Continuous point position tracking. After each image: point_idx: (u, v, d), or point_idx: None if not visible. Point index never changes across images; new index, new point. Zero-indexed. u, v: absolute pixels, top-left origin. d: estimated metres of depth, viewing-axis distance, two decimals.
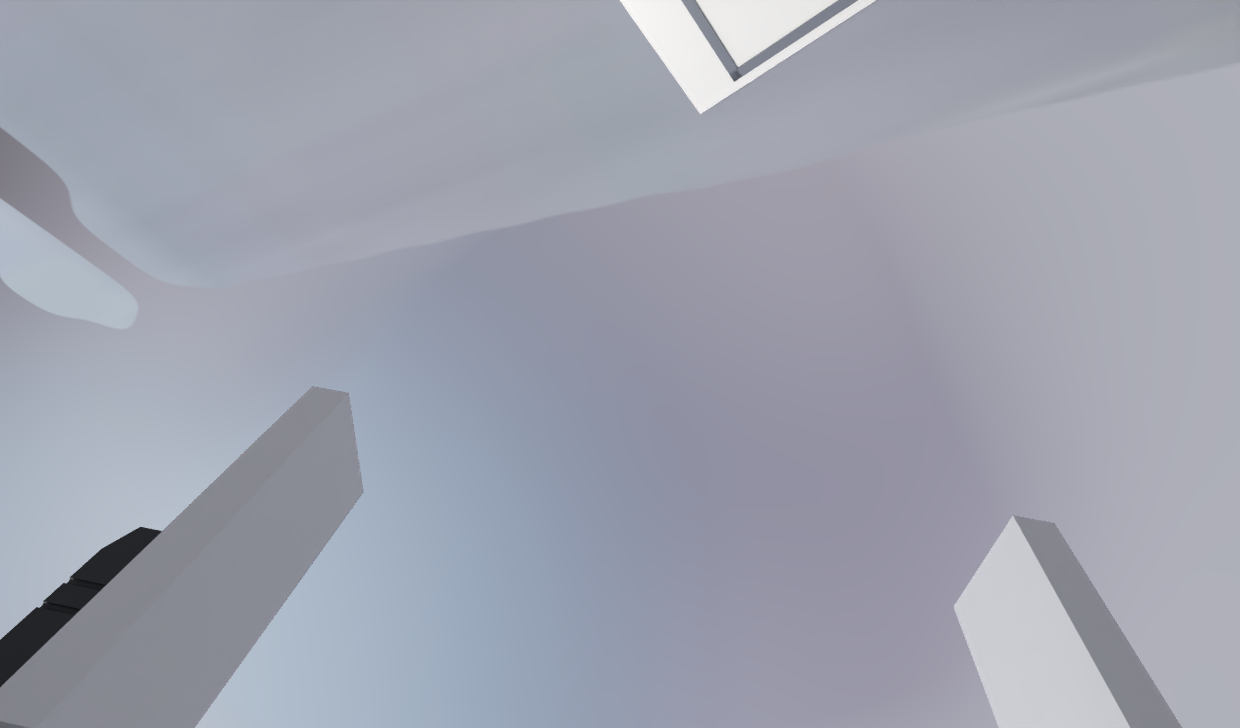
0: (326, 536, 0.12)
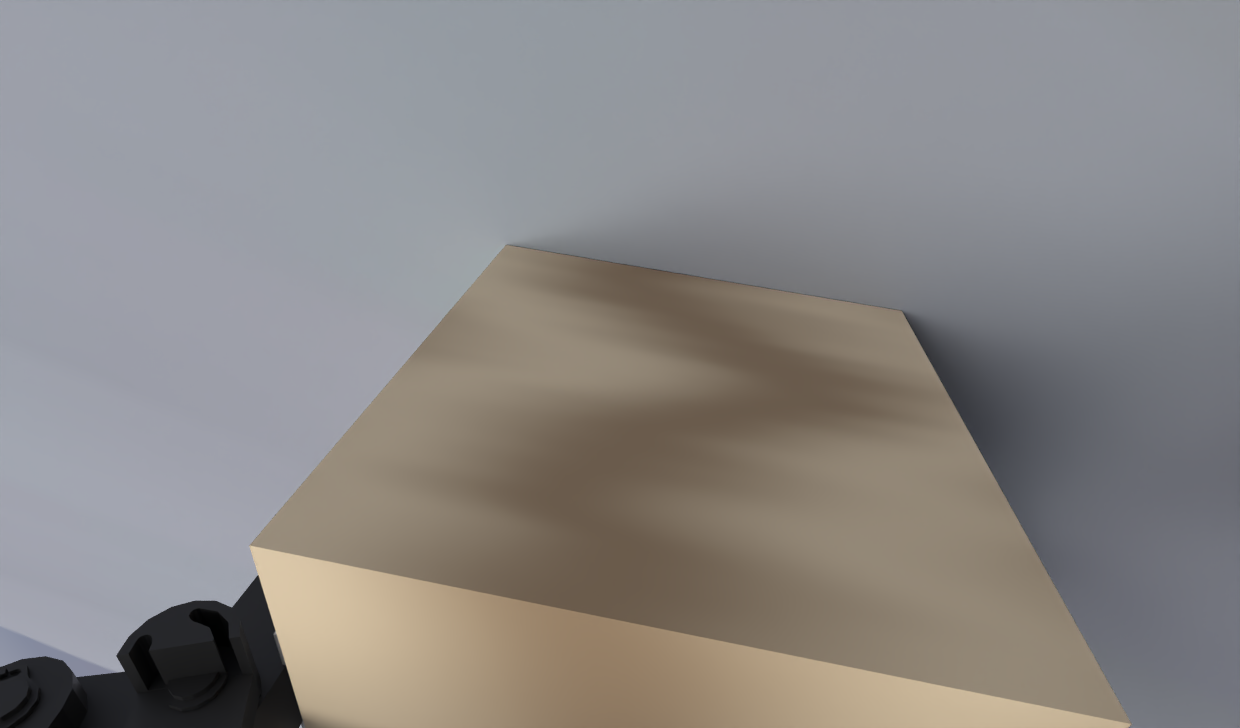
0: None
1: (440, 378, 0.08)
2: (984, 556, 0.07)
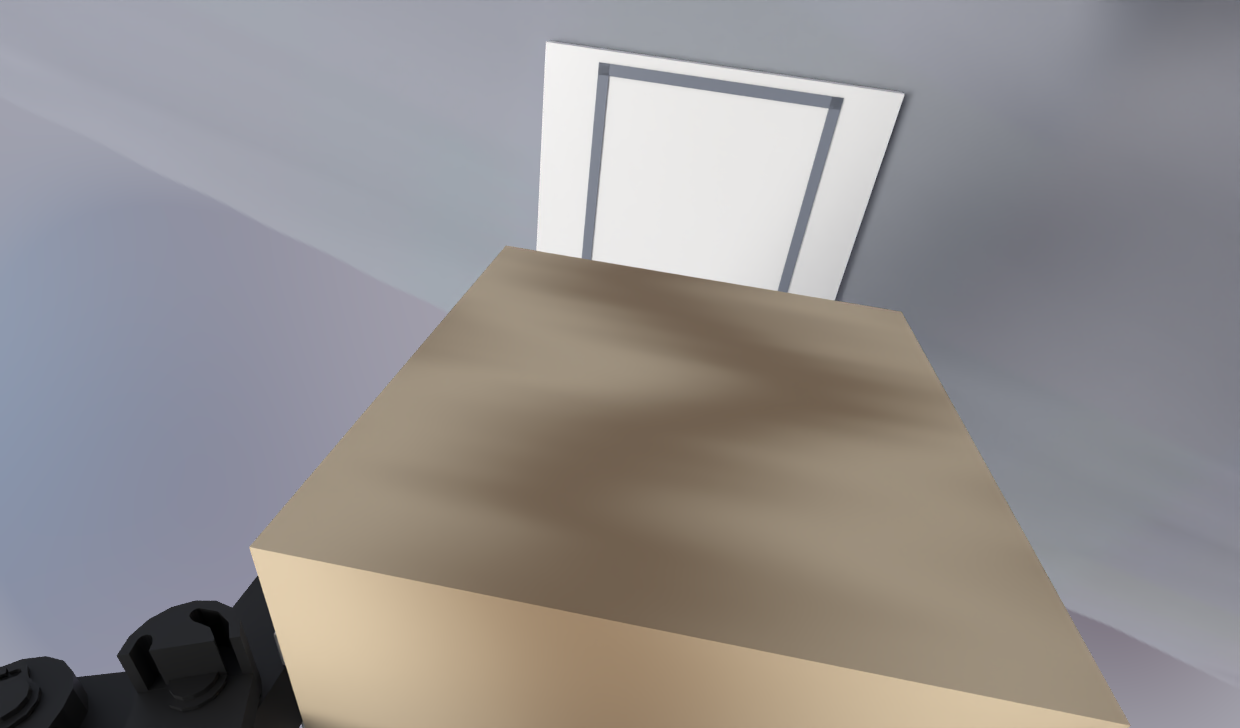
0: None
1: (440, 379, 0.08)
2: (983, 557, 0.07)
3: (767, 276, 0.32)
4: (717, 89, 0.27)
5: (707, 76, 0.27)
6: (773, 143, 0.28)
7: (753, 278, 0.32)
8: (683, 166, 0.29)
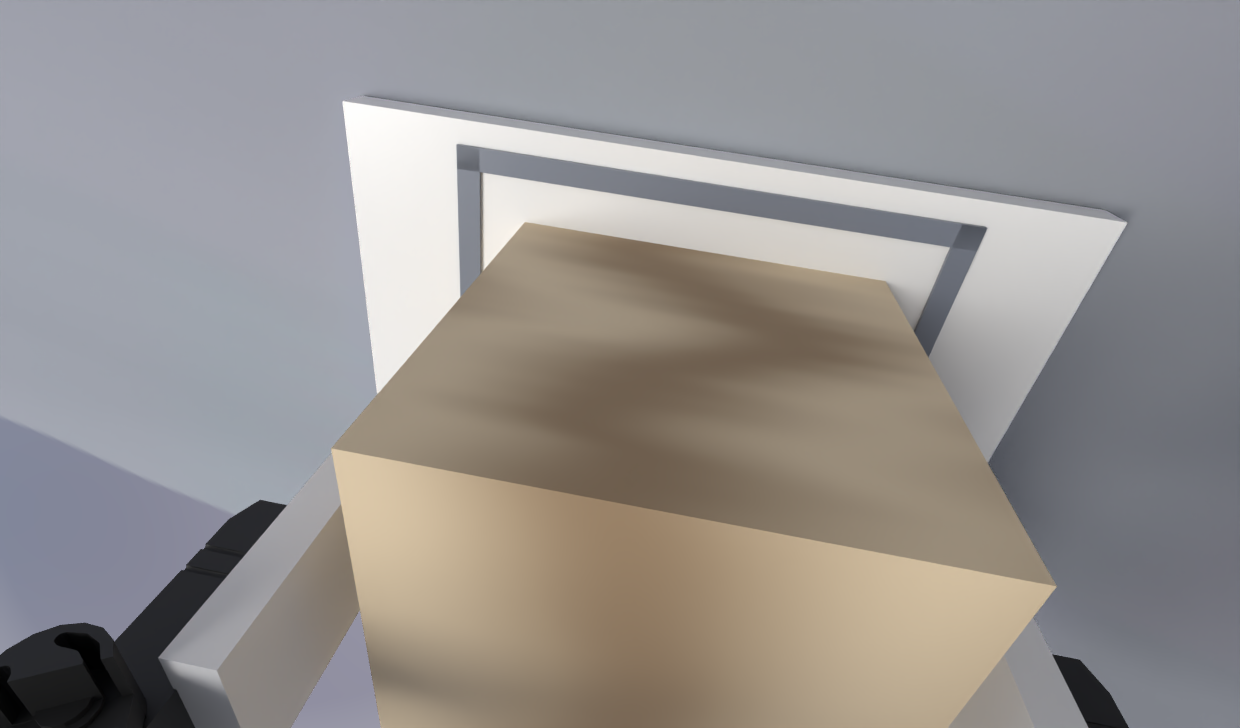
0: None
1: (476, 328, 0.09)
2: (945, 469, 0.08)
3: None
4: (710, 203, 0.13)
5: (688, 177, 0.13)
6: None
7: None
8: None
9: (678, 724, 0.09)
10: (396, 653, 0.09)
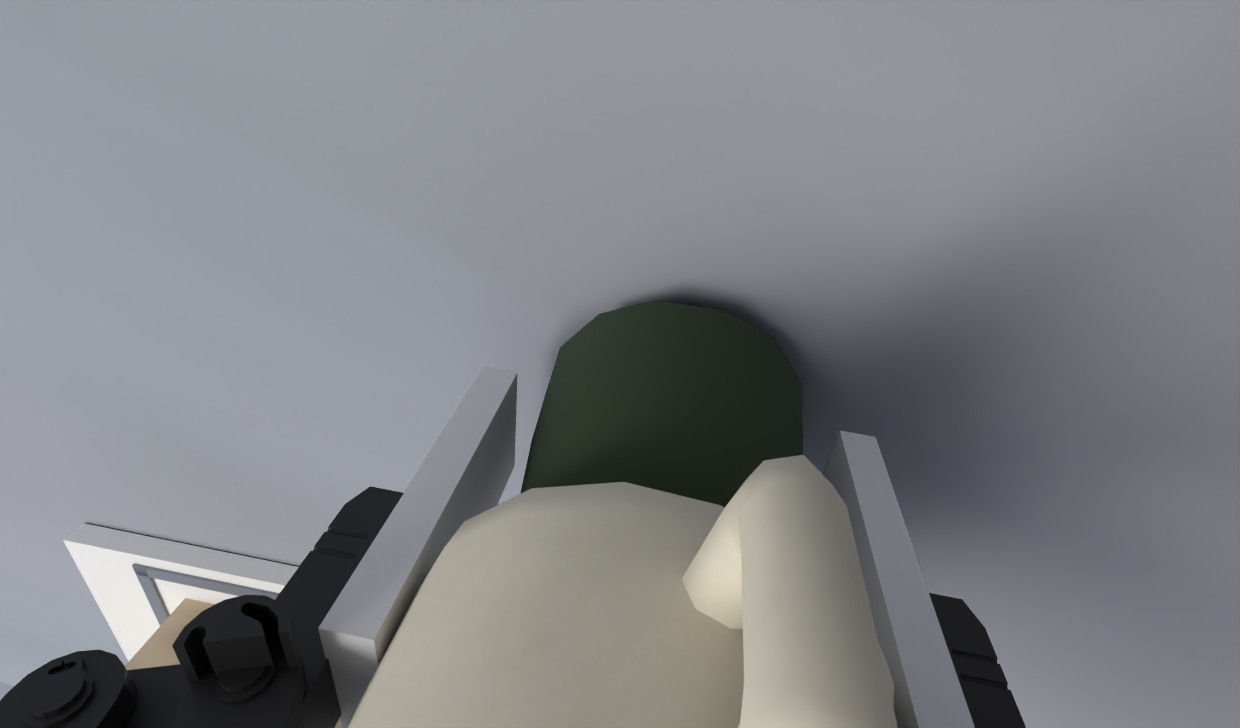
0: (495, 502, 0.13)
1: None
2: None
3: None
4: None
5: (265, 590, 0.21)
6: None
7: None
8: None
9: None
10: None
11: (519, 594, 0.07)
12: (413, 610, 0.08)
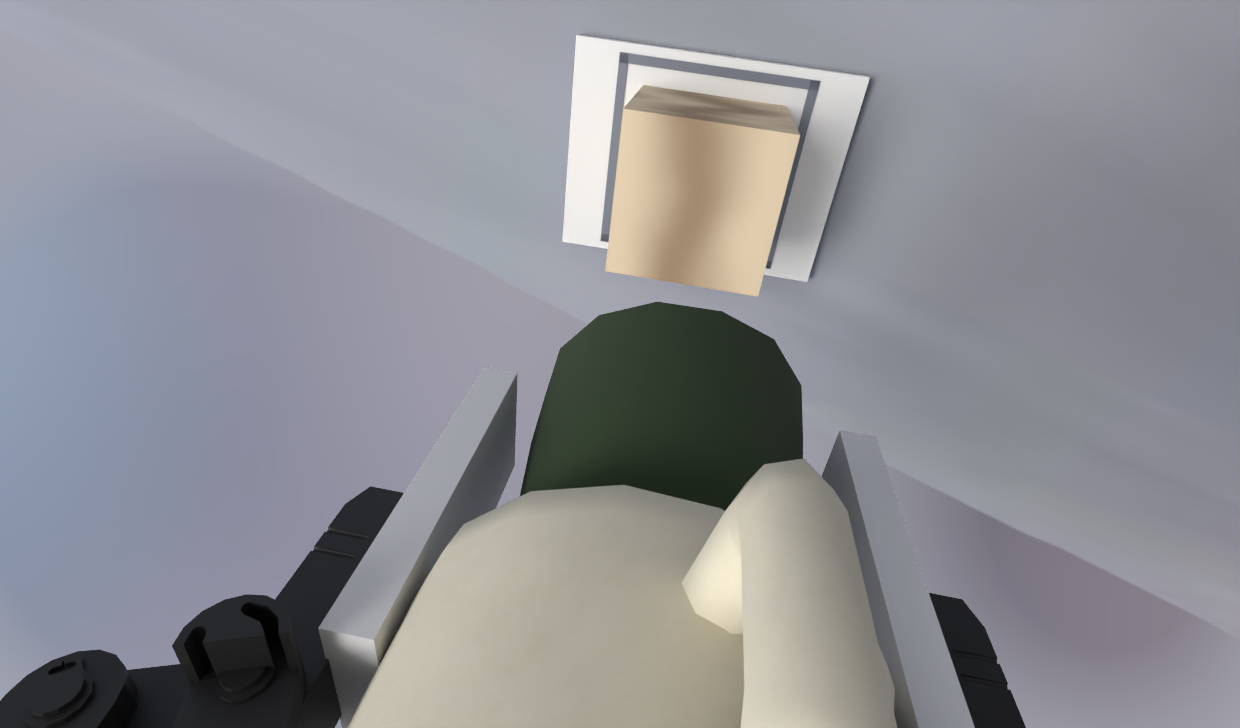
0: (495, 502, 0.13)
1: (644, 99, 0.30)
2: (782, 125, 0.29)
3: None
4: (717, 74, 0.33)
5: (708, 63, 0.33)
6: None
7: None
8: None
9: (708, 213, 0.30)
10: (623, 193, 0.30)
11: (517, 600, 0.07)
12: (412, 614, 0.07)
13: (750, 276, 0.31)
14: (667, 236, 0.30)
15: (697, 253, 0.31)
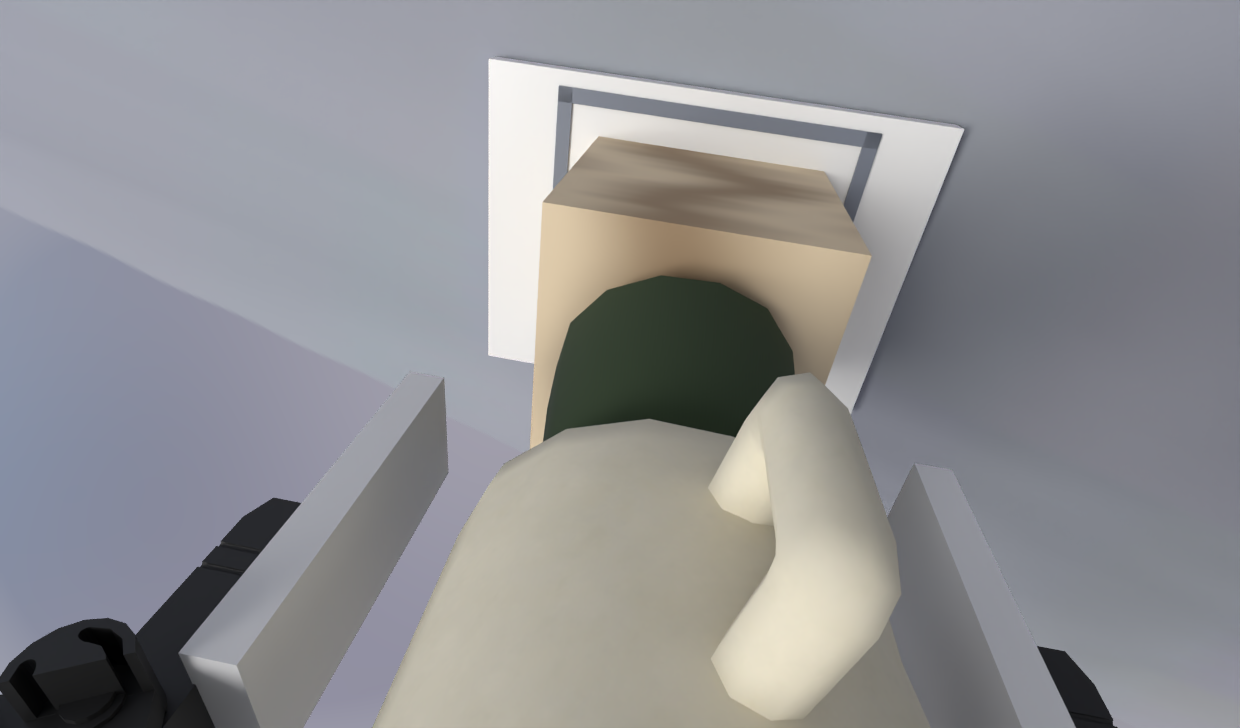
0: (422, 512, 0.13)
1: (589, 173, 0.17)
2: (833, 228, 0.16)
3: None
4: (714, 121, 0.21)
5: (701, 104, 0.21)
6: None
7: None
8: None
9: None
10: (551, 339, 0.17)
11: (569, 506, 0.08)
12: (470, 532, 0.09)
13: None
14: None
15: None
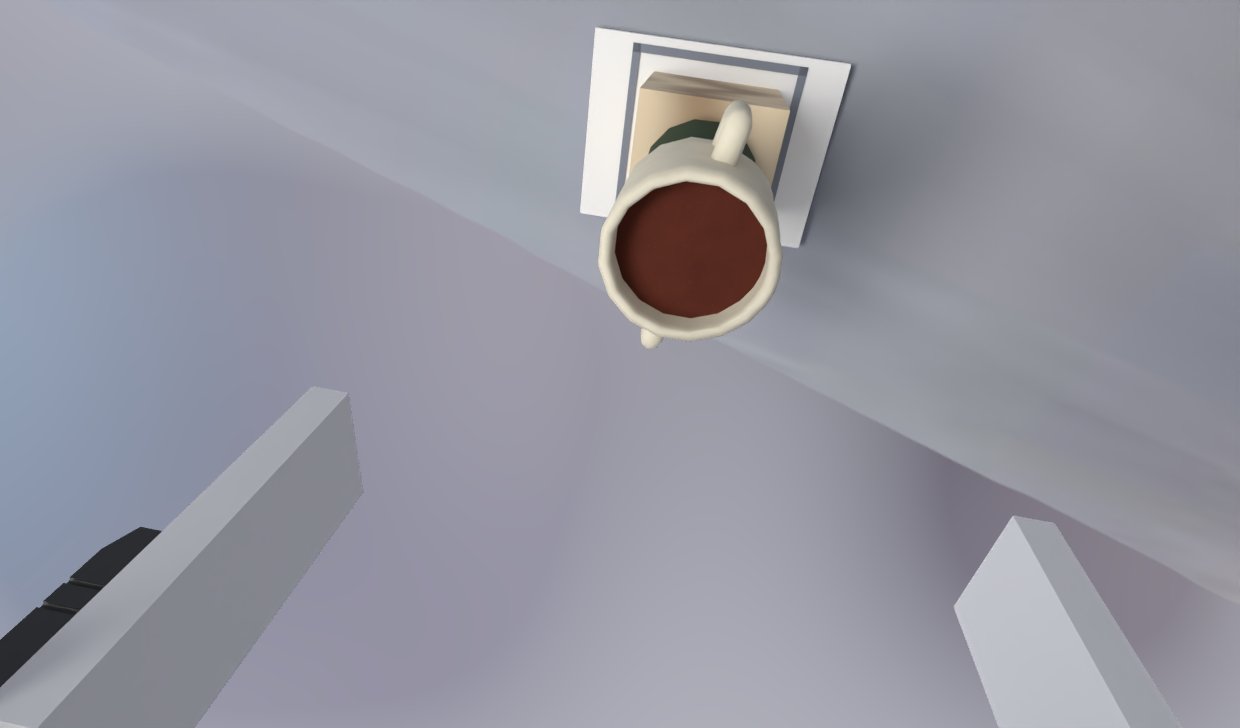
0: (326, 536, 0.12)
1: (656, 82, 0.35)
2: (775, 103, 0.33)
3: None
4: (718, 61, 0.38)
5: (711, 52, 0.38)
6: None
7: None
8: None
9: None
10: (638, 161, 0.34)
11: (669, 148, 0.25)
12: (634, 168, 0.26)
13: None
14: None
15: None
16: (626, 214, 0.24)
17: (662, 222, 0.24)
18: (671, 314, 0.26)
